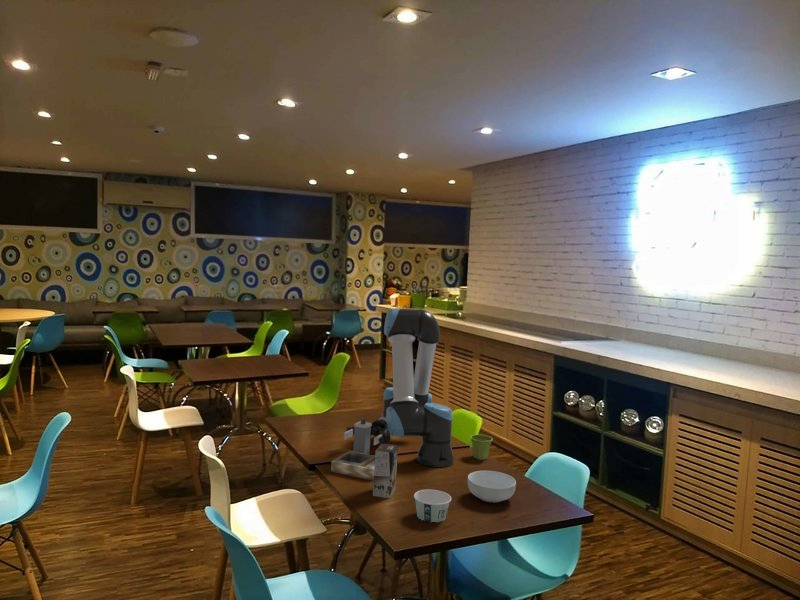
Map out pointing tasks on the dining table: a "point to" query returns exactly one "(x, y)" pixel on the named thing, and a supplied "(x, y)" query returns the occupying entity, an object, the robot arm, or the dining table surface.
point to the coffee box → (385, 470)
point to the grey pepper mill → (362, 436)
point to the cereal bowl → (491, 485)
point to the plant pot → (481, 446)
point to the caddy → (355, 465)
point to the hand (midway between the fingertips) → (359, 438)
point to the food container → (432, 505)
